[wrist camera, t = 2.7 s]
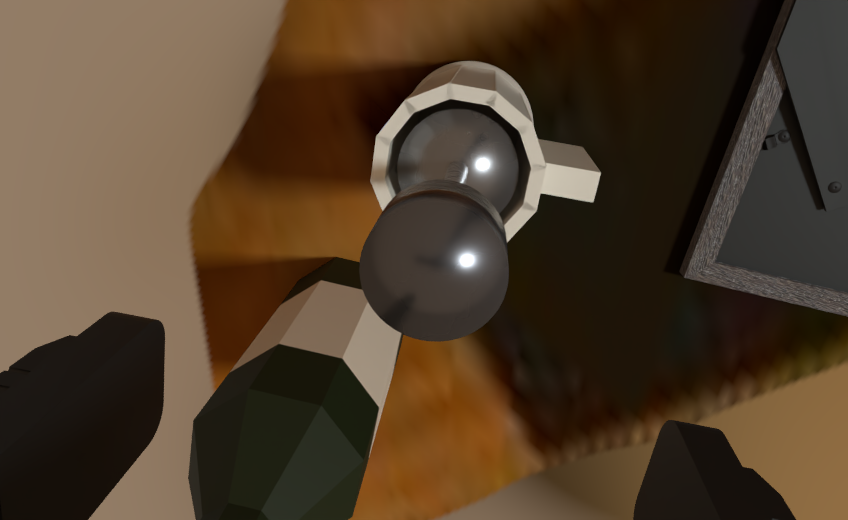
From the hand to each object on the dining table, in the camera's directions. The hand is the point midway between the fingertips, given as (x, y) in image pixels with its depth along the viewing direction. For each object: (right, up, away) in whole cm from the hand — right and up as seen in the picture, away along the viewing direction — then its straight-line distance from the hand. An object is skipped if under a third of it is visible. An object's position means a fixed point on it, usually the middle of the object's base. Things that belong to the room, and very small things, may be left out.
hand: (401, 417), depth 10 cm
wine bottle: (-5, -1, +35) cm, 35 cm away
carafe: (+4, +10, +29) cm, 31 cm away
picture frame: (+25, +9, +28) cm, 39 cm away
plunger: (+2, +7, +18) cm, 19 cm away
